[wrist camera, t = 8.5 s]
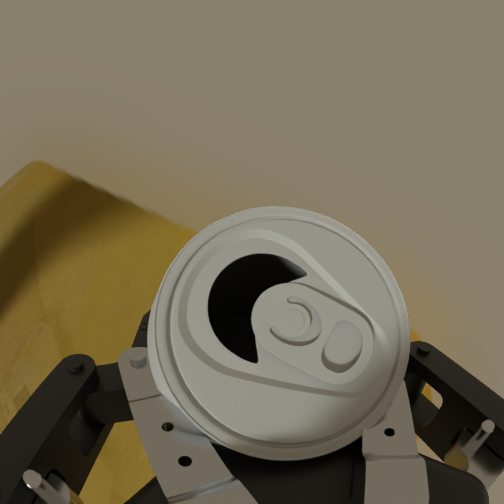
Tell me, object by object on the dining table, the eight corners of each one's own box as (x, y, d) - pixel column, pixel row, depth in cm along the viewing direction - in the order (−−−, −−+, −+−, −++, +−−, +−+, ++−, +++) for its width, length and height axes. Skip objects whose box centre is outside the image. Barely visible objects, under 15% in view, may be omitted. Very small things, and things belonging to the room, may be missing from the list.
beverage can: (222, 300, 18) (242, 153, 7) (310, 352, 17) (444, 274, 6) (164, 384, 15) (71, 358, 4) (259, 440, 14) (354, 514, 3)
